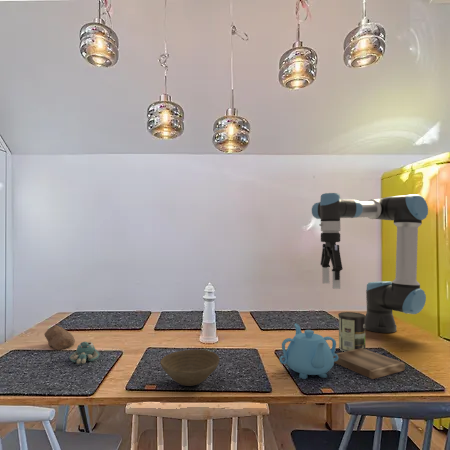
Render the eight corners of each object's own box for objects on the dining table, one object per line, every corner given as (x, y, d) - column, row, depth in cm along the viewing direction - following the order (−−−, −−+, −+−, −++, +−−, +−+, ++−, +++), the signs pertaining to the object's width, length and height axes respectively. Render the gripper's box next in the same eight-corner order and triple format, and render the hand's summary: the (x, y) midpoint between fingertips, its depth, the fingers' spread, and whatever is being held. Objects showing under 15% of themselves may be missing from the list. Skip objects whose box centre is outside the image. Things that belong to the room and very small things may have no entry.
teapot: (323, 388, 109) (323, 341, 109) (270, 371, 122) (270, 329, 122) (346, 373, 121) (346, 331, 121) (295, 359, 134) (295, 321, 134)
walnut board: (361, 354, 139) (361, 347, 139) (404, 370, 123) (404, 362, 123) (330, 361, 132) (330, 354, 132) (372, 379, 116) (372, 371, 116)
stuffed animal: (64, 352, 125) (72, 336, 137) (64, 371, 126) (73, 353, 138) (96, 350, 127) (102, 334, 139) (97, 369, 128) (102, 352, 140)
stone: (48, 349, 152) (37, 332, 147) (67, 333, 158) (57, 316, 153) (63, 359, 144) (52, 341, 140) (82, 343, 150) (72, 325, 146)
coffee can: (363, 346, 149) (363, 312, 149) (367, 354, 139) (367, 318, 139) (337, 345, 151) (337, 311, 151) (340, 353, 141) (339, 316, 141)
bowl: (147, 391, 106) (148, 364, 107) (177, 369, 124) (177, 346, 124) (205, 402, 100) (205, 373, 100) (228, 377, 117) (228, 352, 117)
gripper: (312, 232, 156) (313, 281, 155) (330, 232, 131) (331, 291, 130) (330, 232, 156) (330, 281, 155) (351, 232, 131) (351, 290, 130)
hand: (330, 285), depth 143 cm, fingers open, 13 cm apart
